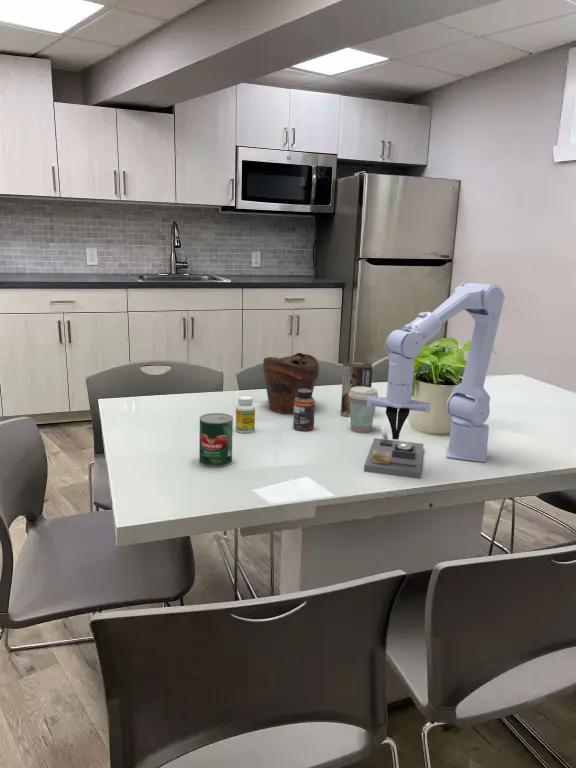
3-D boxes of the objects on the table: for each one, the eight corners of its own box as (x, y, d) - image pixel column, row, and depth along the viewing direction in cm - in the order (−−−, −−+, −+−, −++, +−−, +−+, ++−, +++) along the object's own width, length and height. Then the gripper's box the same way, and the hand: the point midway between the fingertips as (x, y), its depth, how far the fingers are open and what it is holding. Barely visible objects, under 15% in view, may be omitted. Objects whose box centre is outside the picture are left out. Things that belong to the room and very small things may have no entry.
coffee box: (369, 412, 189) (372, 362, 186) (369, 418, 183) (373, 367, 179) (340, 410, 190) (343, 361, 186) (340, 416, 184) (343, 365, 180)
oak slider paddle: (390, 459, 143) (390, 452, 143) (388, 464, 140) (389, 456, 140) (373, 457, 144) (374, 450, 144) (372, 462, 141) (372, 454, 141)
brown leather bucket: (317, 400, 200) (318, 348, 196) (318, 418, 181) (320, 360, 177) (264, 399, 201) (264, 347, 196) (260, 416, 181) (261, 359, 177)
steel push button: (411, 448, 149) (412, 442, 148) (411, 453, 145) (411, 447, 145) (397, 446, 150) (397, 440, 149) (396, 451, 146) (396, 445, 146)
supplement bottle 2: (309, 424, 174) (311, 387, 172) (316, 430, 169) (318, 392, 166) (290, 425, 172) (291, 388, 170) (297, 432, 167) (298, 393, 164)
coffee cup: (352, 434, 166) (355, 393, 164) (342, 425, 174) (344, 386, 172) (380, 433, 169) (383, 392, 166) (368, 424, 177) (371, 385, 174)
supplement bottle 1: (248, 426, 170) (249, 394, 168) (258, 431, 166) (259, 398, 164) (232, 429, 167) (232, 396, 165) (241, 434, 163) (241, 401, 161)
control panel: (423, 449, 157) (424, 437, 156) (419, 478, 137) (421, 465, 136) (374, 443, 160) (374, 432, 159) (363, 471, 140) (364, 458, 139)
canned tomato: (201, 468, 138) (201, 423, 135) (197, 456, 145) (197, 413, 143) (235, 466, 140) (236, 421, 138) (228, 454, 148) (229, 412, 145)
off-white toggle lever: (388, 439, 155) (385, 426, 155) (388, 440, 154) (384, 427, 154) (384, 440, 155) (380, 427, 155) (383, 441, 154) (380, 428, 154)
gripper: (366, 383, 135) (362, 439, 138) (431, 389, 131) (426, 447, 135) (370, 376, 141) (366, 431, 145) (432, 382, 138) (427, 437, 141)
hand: (395, 438), depth 140 cm, fingers closed
